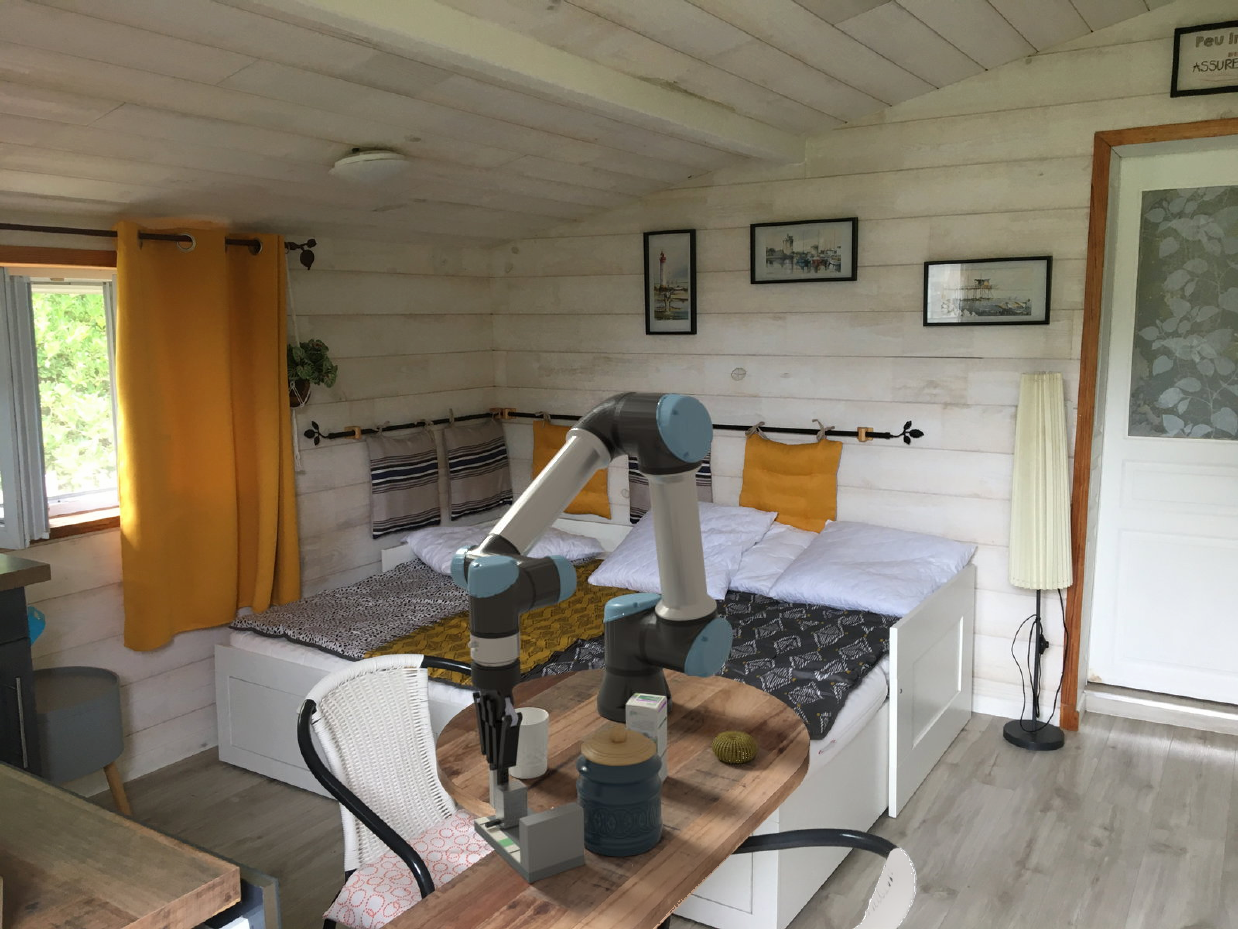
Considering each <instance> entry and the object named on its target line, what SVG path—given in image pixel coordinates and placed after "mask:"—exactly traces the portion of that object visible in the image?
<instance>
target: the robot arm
mask: <svg viewBox="0 0 1238 929" xmlns="http://www.w3.org/2000/svg"><path fill="white" fill-rule="evenodd" d="M713 439H714V427H713V422H712V418H711V415H710V413H709V410H708V409H707V408H706V407H705V405H704V404H703V403H702V402H700V400H699V399H698V398H696V397H695V396H694V397H693V396H691V395H686V394H685V395H684V394H679V393H674V392H672V393H671V392H664V393H663V392H636V391H625V392H621V393H616V394H614V395H612V396H609V397H607V398H606V399H605V398H604V400H602V401H601V402H599V403H598V404H596V405H595V406H593V407H592V408H591V409H590V410H589V411H587V412H586V413H585V414H584V415H583V416H581V417H580V418H579V419H578V421H576V423H575V424H574V425H573V426H572V427H571V428H570V429H569V430H568V431H567V433H566V435H565V441H566V442H565V443H564V444H563V446H562V447H561V448H560V450H558V452H557V453H556V454H555V455H554V457H553V458H551V460H550V461H549V462H548V463H547V464H546V466H545V467H544V468H543V469H542V470H541V472H540V473H539V474H538V475H537V476H536V477H535V478H534V479H533V481H532V482H531V483H530V484H529V485H528V487H527V488H526V489H525V490H524V492H523V493H521V495H520V496H519V497H518V498H517V499H516V501H515V502H514V503H513V504H512V505H511V506H510V507H509V509H508V510H507V511H506V512H505V514H504V515H503V516H502V517H501V518H500V519H499V521H498V522H496V524H495V526H494V527H492V529H491V530H490V531H489V533H488V534H486V536H485V537H484V538H483V539H482V540H481V542H480V543H479V544H478V545H476V544H472V545H470V544H468V545H464V546H462V547H460V548H458V550H456V552H455V553H454V554H453V556H452V559H451V561H450V567H449V568H450V569H449V570H450V577H451V579H452V580H453V583H454V584H455V585H456V586H458V587H459V588H460V589H463V590H466V591H467V599H468V616H469V617H468V619H469V639H470V640H469V642H468V643H467V645H468V646H467V647H468V648H469V649H470V658H471V659H472V661H471V662H470V680H471V681H470V682H471V684H472V686H473V687H475V688H476V689H478V690H479V691H474V692H472V698H473V699H472V700H473V703H474V705H475V706H474V707H475V711H476V712H475V714H476V719H477V720H476V721H477V727H478V736H479V744H480V752H481V755H482V756H485V757H486V758H485V759H486V763H487V764H489V765H488V778H489V780H488V781H489V782H488V783H489V788H488V789H489V805H490V806H491V808H493V809H494V810H495V789H494V786H495V785H499V784H502V783H506V782H509V781H510V774H509V768H510V767H514V766H516V762H517V751H518V741H519V730H520V725H521V722H522V719H523V716H522V713H521V712H518V713H516V712H515V710H514V705H515V699H514V695H513V690H514V688H515V687H516V686H517V685H518V684H520V682H521V678H522V675H521V673H522V672H521V660H520V658H519V657H520V656H521V630H520V615H522V614H526V613H529V612H531V611H532V612H533V611H535V610H539V609H541V608H545V607H549V606H555V605H557V604H558V603H560V602H562V601H565V600H567V599H569V598H570V597H572V595H574V593H575V591H576V588H577V586H578V585H577V582H578V579H577V571H576V569H575V567H574V565H573V564H572V561H571V560H570V559H568V558H567V557H566V556H564V555H560V554H554V555H545V556H544V557H541V558H540V557H532V556H528V555H530V554H531V552H532V551H533V549H534V548H535V547H536V546H537V544H538V543H539V542H540V541H541V540H542V539H543V537H544V536H545V535H546V534H547V533H548V531H549V530H550V529H551V528H552V526H553V525H554V524H555V523H556V521H557V520H558V519H559V518H560V517H561V515H562V514H563V512H565V510H566V509H567V508H568V507H569V505H570V504H571V503H572V502H573V501H574V500H575V498H576V497H577V495H578V494H579V493H580V492H581V491H582V489H584V487H585V486H586V485H587V483H588V482H589V481H590V480H591V479H592V477H594V475H595V474H596V472H597V471H598V470H604V469H606V468H607V467H608V466H610V465H611V463H612V462H613V461H614V460H615V459H617V458H619V457H622V456H632V457H633V456H634V457H636V458H637V466H638V467H637V468H638V472H639V474H640V475H642V476H643V477H645V478H646V479H647V481H648V489H649V497H650V506H651V516H652V523H653V533H654V541H655V542H654V543H655V548H656V549H655V550H656V556H657V557H656V559H657V567H658V575H659V576H658V577H659V584H660V592H661V594H659V593H655V592H637V593H631V594H629V593H628V594H623V595H619V596H617V597H616V596H615V597H613V598H611V599H609V600H608V601H607V602H606V603H605V605H604V611H603V612H604V614H603V616H604V619H603V634H604V635H603V636H604V637H603V639H604V640H603V642H604V643H603V644H604V674H603V678H602V681H601V684H600V687H599V691H598V694H597V696H596V710H597V713H598V714H599V715H601V716H602V717H604V718H605V719H607V720H612V721H617V722H622V723H626V703H627V702H628V701H629V699H630V698H631V697H632V696H633V695H634V694H635V693H640V694H650V695H659V696H666V698H667V716H668V715H669V714H671V712H672V710H673V696H672V692H671V690H670V687H669V684H668V681H667V677H666V676H665V671H664V669H665V670H669V671H673V672H677V673H681V674H685V675H686V676H688V677H697V678H701V679H706V678H711V677H713V676H714V675H716V674H717V673H718V672H719V671H720V670H721V669H722V668H723V667H724V665H725V663H726V662H727V659H728V657H729V656H730V653H731V650H732V644H733V638H734V636H733V635H734V634H733V627H732V625H731V623H730V622H729V621H728V620H727V619H725V618H724V617H722V616H720V617H719V614H718V605H717V601H716V600H715V598H714V597H712V596H711V595H709V594H708V588H707V577H706V567H705V558H704V548H703V538H702V537H703V536H702V529H701V518H700V509H699V500H698V498H699V497H698V490H697V480H696V479H697V478H696V474H697V473H698V471H699V470H700V469H701V468H702V467H703V460H704V458H706V457H707V455H708V454H709V453H710V450H711V449H712V445H711V443H713Z"/></svg>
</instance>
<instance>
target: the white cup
mask: <svg viewBox="0 0 1238 929" xmlns="http://www.w3.org/2000/svg"><path fill="white" fill-rule="evenodd" d="M514 710H515V712H516V713H518V712H521V713H522V716H523V719H522V722H521V725H520V730H519V741H518V751H517V762H516V766H514V767H510V768H509V776H512V777H513V778H517V779H521V780H522V779H526V780H527V779H535V778H538V777H541V776H543V775H544V774H545V773H546V772H547V770H548V753H549V752H548V751H549V728H550V727H549V725H550V724H549V723H550V722H549V718H550V714H549V712H547V711H546V710H545V709H542V708H538V707H529V706H527V707H518V708H515V709H514Z"/></svg>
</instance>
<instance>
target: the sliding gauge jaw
mask: <svg viewBox="0 0 1238 929" xmlns="http://www.w3.org/2000/svg"><path fill="white" fill-rule="evenodd" d="M494 789H495V809H494V812H495V813H494V815H495V818H496V819H495V820H492V821H489V822H485V827H486V828H489V827H493V826H496V825H501V826H502V827H503V828H504V829H506V828H509V827H512V826H516V825H519V819H520V818H523V817H526V816H528V807H529V806H528V786H527V785H526V784H525V783H524V782H523V781H521V780H520V779H519V778H517V779H513V780H509V782H506V783H502V784H499V785H495V786H494Z"/></svg>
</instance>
